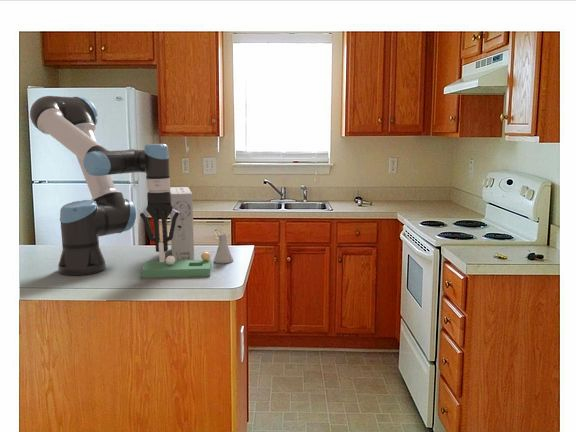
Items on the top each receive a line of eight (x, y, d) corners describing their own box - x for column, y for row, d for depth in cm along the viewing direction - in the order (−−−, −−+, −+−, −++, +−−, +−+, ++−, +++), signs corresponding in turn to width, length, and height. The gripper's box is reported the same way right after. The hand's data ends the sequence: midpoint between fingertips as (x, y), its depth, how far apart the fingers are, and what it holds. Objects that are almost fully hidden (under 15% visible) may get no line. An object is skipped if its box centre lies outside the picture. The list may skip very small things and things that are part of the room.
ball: (162, 260, 176) (170, 255, 176) (164, 258, 179) (171, 252, 179) (168, 268, 177) (176, 262, 176) (170, 265, 180) (177, 260, 180)
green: (141, 277, 172) (141, 270, 171) (147, 268, 183) (147, 261, 183) (209, 275, 174) (209, 268, 173) (211, 266, 186) (211, 259, 185)
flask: (209, 262, 191) (209, 235, 189) (219, 258, 197) (218, 232, 196) (227, 264, 188) (227, 237, 187) (236, 259, 195) (236, 233, 193)
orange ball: (201, 262, 182) (200, 253, 181) (201, 259, 185) (201, 250, 184) (210, 261, 182) (210, 252, 182) (210, 259, 185) (210, 250, 185)
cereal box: (194, 260, 194) (192, 193, 190) (173, 262, 192) (170, 193, 188) (190, 248, 214) (188, 186, 210) (171, 249, 213) (169, 187, 208)
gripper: (136, 192, 169) (140, 264, 173) (177, 191, 170) (180, 263, 174) (140, 190, 177) (144, 259, 180) (180, 189, 178) (183, 257, 181)
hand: (162, 261), depth 177 cm, fingers closed
